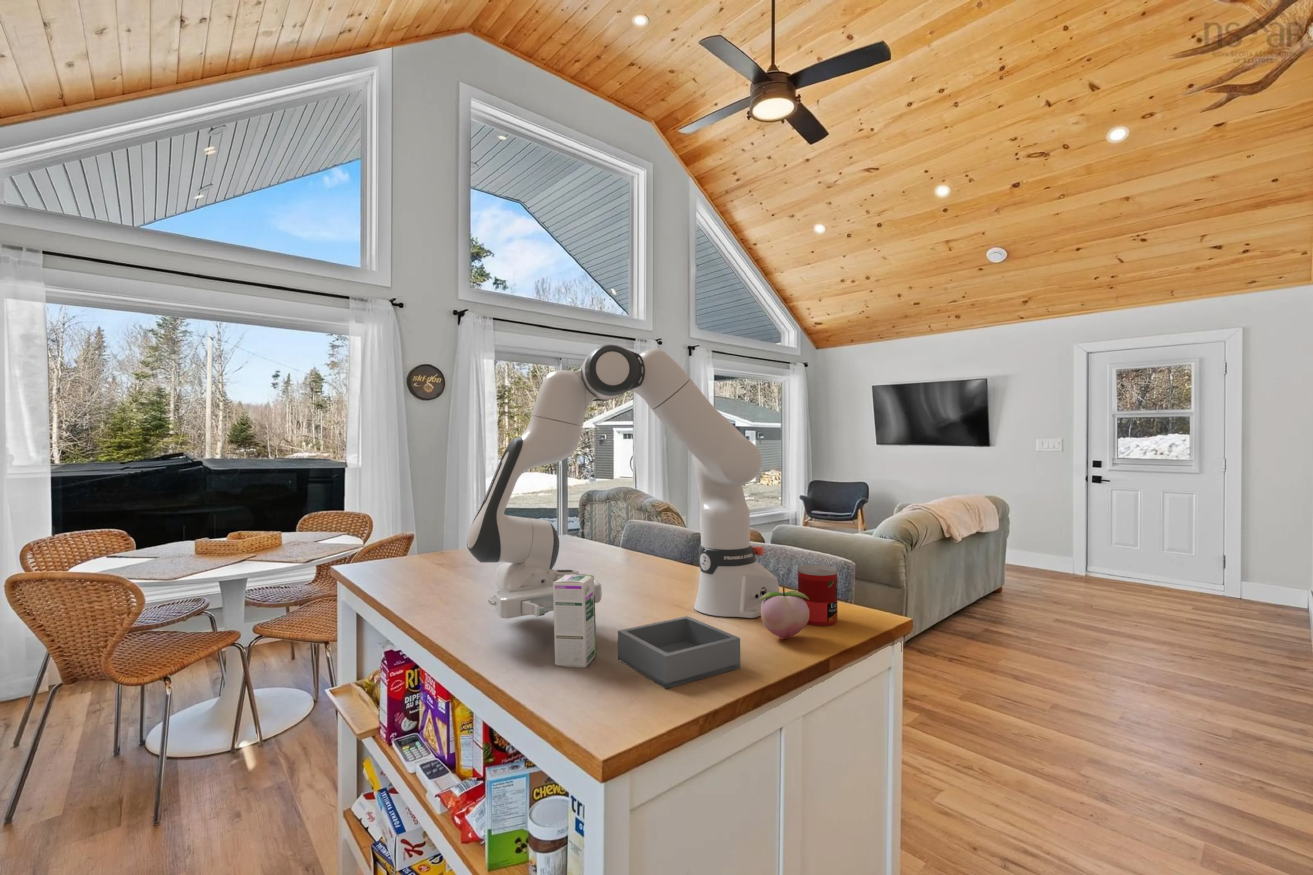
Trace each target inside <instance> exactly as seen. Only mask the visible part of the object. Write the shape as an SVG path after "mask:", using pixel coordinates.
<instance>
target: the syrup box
mask: <svg viewBox="0 0 1313 875" xmlns="http://www.w3.org/2000/svg"><path fill="white" fill-rule="evenodd" d="M594 580H595V575H592V574H585V573H584V574H582V573H579V574H570V575H564V577H562V578H561V579H559V580H557V581H555V582H554V583H553V599H554V610H553V627H554V628H553V633H554V634H553V636H554V637H553V639H554V665H555V666H559V667H564V668H565V667H567V668H581V669H582V668H584V669H585V668H586V669H587V667H588V666H589V664H590V663H591V662H592V661H593V660H594V658H596V657H597V633H596V631H597V628H596V626H597V623H596V603H595V585H594Z"/></svg>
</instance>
